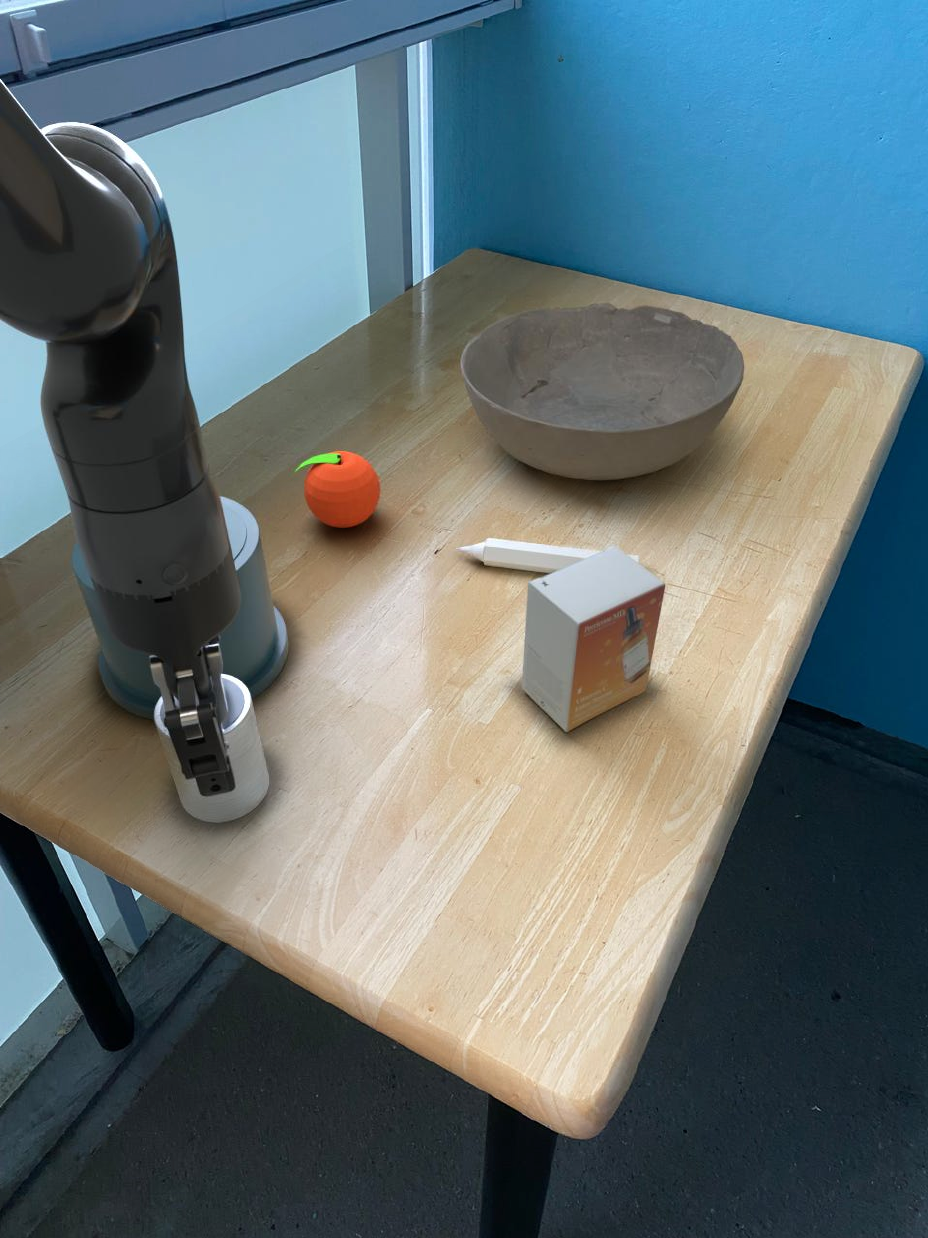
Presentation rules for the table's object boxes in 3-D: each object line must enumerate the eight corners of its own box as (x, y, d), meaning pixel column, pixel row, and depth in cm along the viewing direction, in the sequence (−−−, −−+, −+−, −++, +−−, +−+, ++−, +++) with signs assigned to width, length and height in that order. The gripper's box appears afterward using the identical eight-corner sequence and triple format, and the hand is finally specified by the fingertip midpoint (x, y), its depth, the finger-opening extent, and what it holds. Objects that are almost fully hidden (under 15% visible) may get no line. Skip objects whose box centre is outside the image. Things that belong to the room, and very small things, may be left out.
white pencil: (455, 562, 84) (635, 582, 81) (451, 565, 81) (635, 585, 79) (458, 533, 83) (639, 552, 80) (453, 535, 81) (639, 555, 78)
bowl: (755, 412, 102) (774, 325, 96) (679, 547, 84) (697, 450, 77) (527, 362, 112) (530, 279, 105) (413, 472, 93) (409, 381, 87)
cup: (182, 832, 61) (154, 750, 56) (178, 763, 65) (152, 682, 60) (274, 811, 62) (255, 730, 57) (264, 745, 66) (246, 664, 61)
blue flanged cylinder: (100, 739, 67) (55, 623, 60) (103, 613, 77) (65, 501, 70) (300, 700, 70) (280, 585, 62) (277, 583, 80) (257, 473, 73)
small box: (565, 735, 67) (576, 626, 60) (519, 689, 70) (524, 580, 64) (649, 691, 70) (668, 582, 63) (601, 649, 74) (615, 541, 67)
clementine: (291, 542, 85) (281, 476, 80) (302, 500, 90) (293, 434, 85) (379, 543, 85) (374, 476, 80) (385, 500, 90) (380, 434, 85)
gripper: (88, 486, 55) (153, 688, 66) (80, 646, 44) (159, 854, 55) (218, 467, 56) (260, 667, 67) (240, 618, 46) (286, 826, 57)
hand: (214, 751), depth 61 cm, fingers closed on cup, 6 cm apart
